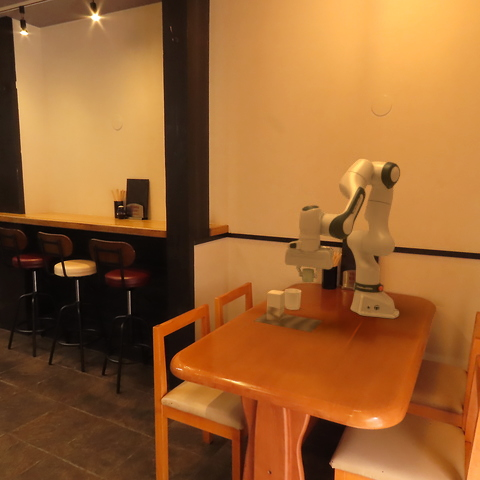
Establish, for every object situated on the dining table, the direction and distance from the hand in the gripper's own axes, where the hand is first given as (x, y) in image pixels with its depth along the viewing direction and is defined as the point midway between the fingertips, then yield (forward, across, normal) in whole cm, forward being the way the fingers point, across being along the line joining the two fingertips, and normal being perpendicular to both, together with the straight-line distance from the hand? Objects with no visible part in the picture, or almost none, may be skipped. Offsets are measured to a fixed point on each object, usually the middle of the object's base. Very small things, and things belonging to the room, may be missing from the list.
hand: (307, 277), depth 175 cm
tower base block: (+20, +14, 0) cm, 25 cm away
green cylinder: (+2, 0, 0) cm, 2 cm away
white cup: (+22, +13, -19) cm, 32 cm away
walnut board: (+22, +8, 0) cm, 23 cm away
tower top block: (+14, +14, 0) cm, 20 cm away
